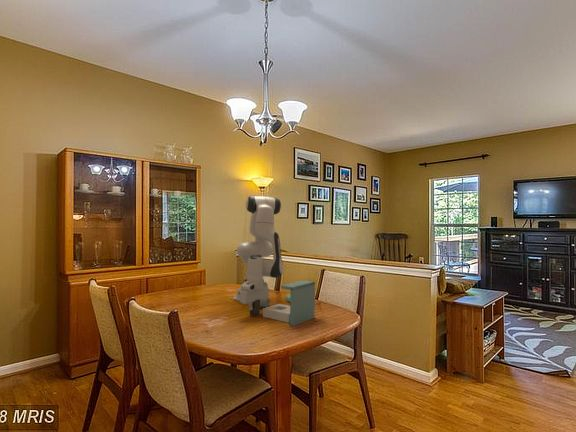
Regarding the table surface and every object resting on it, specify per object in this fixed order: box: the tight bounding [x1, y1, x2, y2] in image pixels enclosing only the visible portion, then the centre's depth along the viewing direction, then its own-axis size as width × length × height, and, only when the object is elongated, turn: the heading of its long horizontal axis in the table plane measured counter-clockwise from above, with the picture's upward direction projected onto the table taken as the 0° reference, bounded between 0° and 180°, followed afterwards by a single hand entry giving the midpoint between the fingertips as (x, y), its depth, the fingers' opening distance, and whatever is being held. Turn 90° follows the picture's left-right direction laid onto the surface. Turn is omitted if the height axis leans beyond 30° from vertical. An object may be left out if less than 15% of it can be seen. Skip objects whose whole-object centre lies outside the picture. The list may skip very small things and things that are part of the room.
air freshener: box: [260, 297, 271, 309], centre depth 212 cm, size 11×8×10 cm
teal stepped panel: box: [280, 280, 316, 327], centre depth 184 cm, size 8×20×20 cm, turn 143°
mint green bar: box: [285, 293, 290, 303], centre depth 218 cm, size 6×6×25 cm
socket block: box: [262, 303, 290, 324], centre depth 190 cm, size 18×14×4 cm
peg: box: [249, 299, 261, 318], centre depth 192 cm, size 4×4×9 cm
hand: (254, 308), depth 192 cm, fingers closed on peg, 4 cm apart
